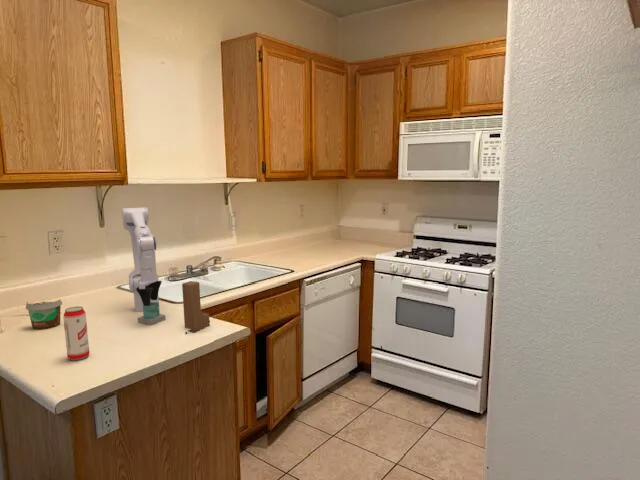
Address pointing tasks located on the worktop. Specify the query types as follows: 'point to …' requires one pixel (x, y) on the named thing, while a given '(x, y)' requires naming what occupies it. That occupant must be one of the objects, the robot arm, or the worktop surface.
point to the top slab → (151, 320)
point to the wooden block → (193, 307)
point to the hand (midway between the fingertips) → (150, 302)
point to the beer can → (76, 333)
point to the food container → (44, 314)
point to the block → (151, 310)
